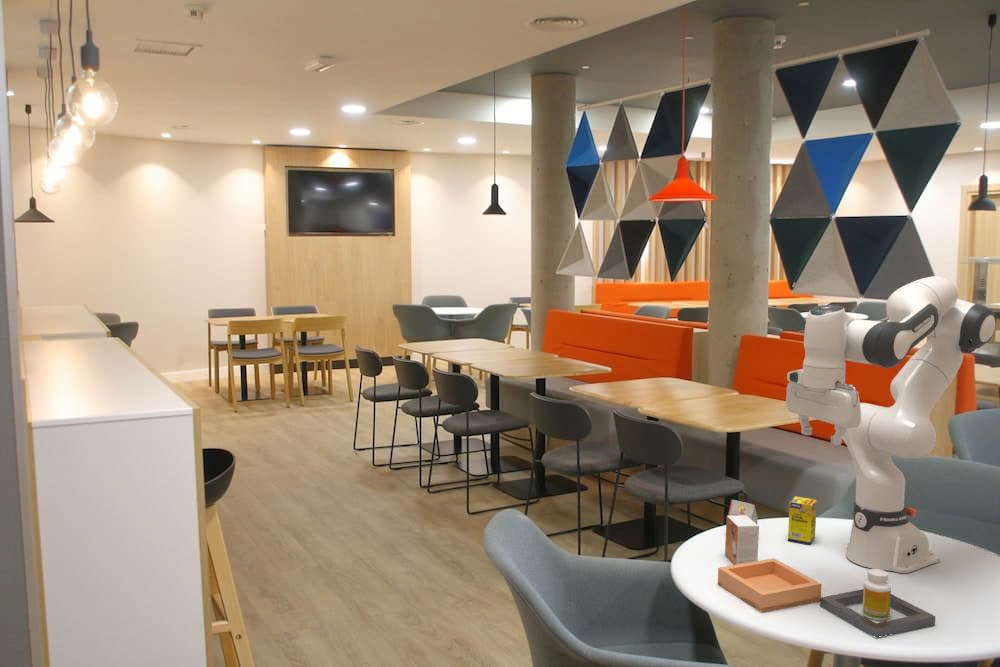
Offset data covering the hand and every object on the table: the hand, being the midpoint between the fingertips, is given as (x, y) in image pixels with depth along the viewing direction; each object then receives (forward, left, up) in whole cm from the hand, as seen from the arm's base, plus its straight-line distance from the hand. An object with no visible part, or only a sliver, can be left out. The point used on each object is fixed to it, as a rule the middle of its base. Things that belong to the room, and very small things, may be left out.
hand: (821, 439), depth 189 cm
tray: (+10, -4, -36) cm, 37 cm away
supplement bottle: (-4, +14, -36) cm, 39 cm away
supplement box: (-20, -28, -36) cm, 50 cm away
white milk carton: (-6, -35, -36) cm, 51 cm away
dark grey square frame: (-4, +14, -36) cm, 39 cm away
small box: (+4, -22, -36) cm, 42 cm away
